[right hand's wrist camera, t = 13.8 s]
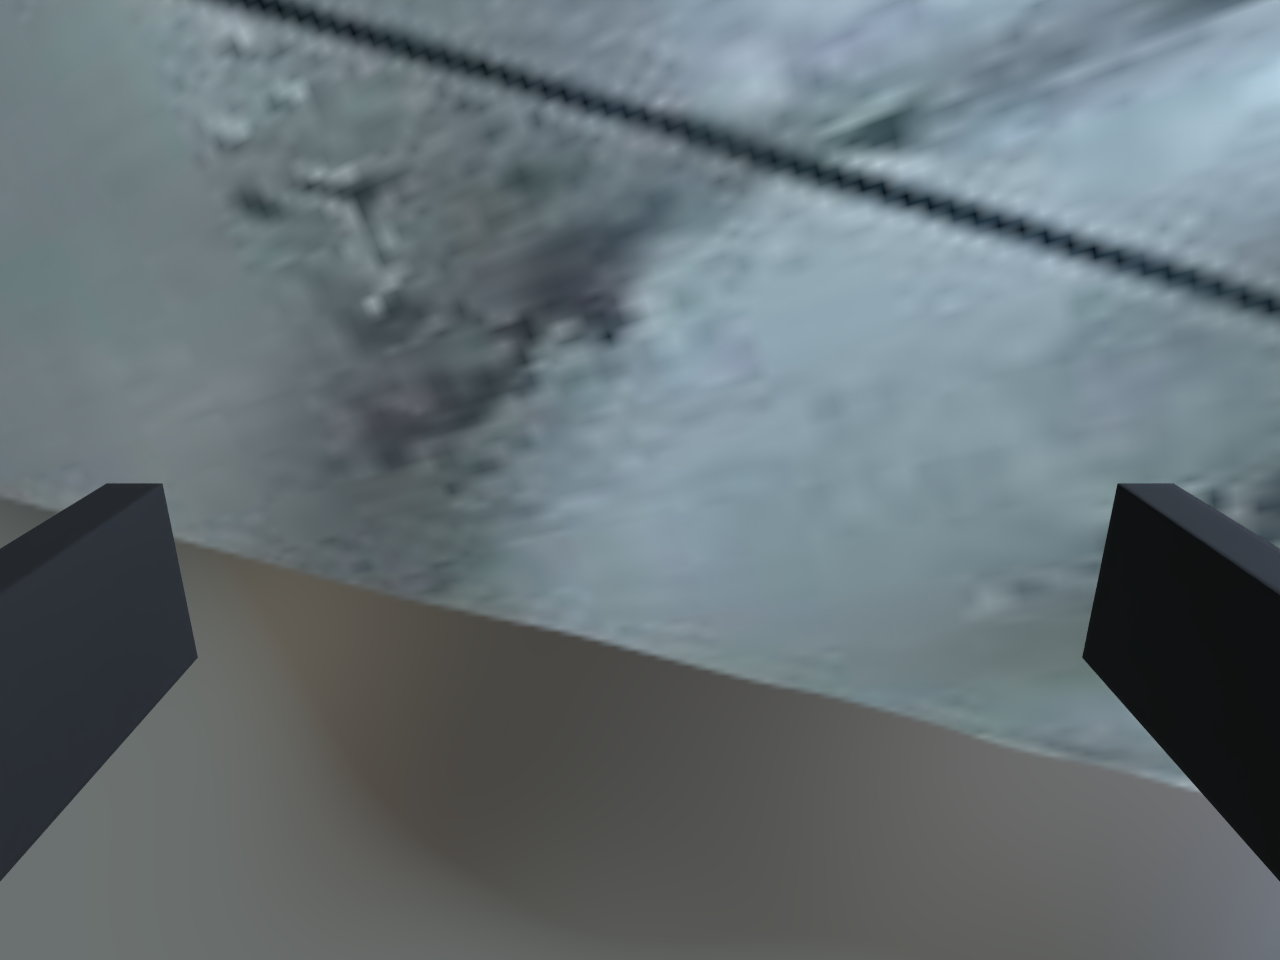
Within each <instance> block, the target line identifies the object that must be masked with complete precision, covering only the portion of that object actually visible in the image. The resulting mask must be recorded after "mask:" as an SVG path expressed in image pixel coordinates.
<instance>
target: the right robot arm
mask: <svg viewBox="0 0 1280 960" xmlns="http://www.w3.org/2000/svg"><path fill="white" fill-rule="evenodd" d="M197 658H198V657H197V652H196V647H195V642H194V637H193V632H192V627H191V622H190V617H189V613H188V607H187V602H186V598H185V593H184V588H183V583H182V578H181V573H180V568H179V563H178V558H177V553H176V548H175V543H174V538H173V533H172V528H171V523H170V519H169V514H168V509H167V504H166V499H165V494H164V489H163V484H105V485H104V486H102V487H100V488H99V489H97V490H95V491H94V492H92V493H90V494H89V495H87V496H86V497H84V498H82V499H81V500H79V501H77V502H76V503H74V504H73V505H71V506H69V507H68V508H66V509H64V510H63V511H61V512H60V513H58V514H56V515H55V516H53V517H51V518H50V519H48V520H46V521H45V522H43V523H42V524H40V525H38V526H37V527H35V528H33V529H32V530H30V531H29V532H27V533H25V534H24V535H22V536H20V537H19V538H17V539H16V540H14V541H12V542H11V543H9V544H7V545H6V546H4V547H2V548H1V549H0V881H1V880H2V879H3V877H4V876H5V875H6V874H7V873H8V872H9V871H10V870H11V869H12V867H13V866H14V865H15V864H16V863H17V862H18V861H19V859H20V858H21V857H22V856H23V855H24V854H25V853H26V852H27V850H28V849H29V848H30V847H31V846H32V845H33V844H34V842H35V841H36V840H37V839H38V838H39V837H40V836H41V835H42V833H43V832H44V831H45V830H46V829H47V828H48V827H49V825H50V824H51V823H52V822H53V821H54V820H55V819H56V818H57V816H58V815H59V814H60V813H61V812H62V811H63V810H64V808H65V807H66V806H67V805H68V804H69V803H70V802H71V801H72V799H73V798H74V797H75V796H76V795H77V794H78V793H79V791H80V790H81V789H82V788H83V787H84V786H85V785H86V783H87V782H88V781H89V780H90V779H91V778H92V777H93V776H94V774H95V773H96V772H97V771H98V770H99V769H100V768H101V767H102V765H103V764H104V763H105V762H106V761H107V760H108V759H109V757H110V756H111V755H112V754H113V753H114V752H115V751H116V749H117V748H118V747H119V746H120V745H121V744H122V743H123V742H124V740H125V739H126V738H127V737H128V736H129V735H130V734H131V733H132V731H133V730H134V729H135V728H136V727H137V726H138V725H139V723H140V722H141V721H142V720H143V719H144V718H145V717H146V716H147V714H148V713H149V712H150V711H151V710H152V709H153V708H154V706H155V705H156V704H157V703H158V702H159V701H160V700H161V699H162V697H163V696H164V695H165V694H166V693H167V692H168V691H169V689H170V688H171V687H172V686H173V685H174V684H175V683H176V682H177V680H178V679H179V678H180V677H181V676H182V675H183V674H184V672H185V671H186V670H187V669H188V668H189V667H190V666H191V665H192V663H193V662H194V661H195V660H196V659H197ZM1082 658H1083V659H1084V660H1085V661H1086V662H1087V663H1088V665H1089V666H1090V667H1091V668H1092V669H1093V670H1094V671H1095V672H1096V674H1097V675H1098V676H1099V677H1100V678H1101V679H1102V680H1103V682H1104V683H1105V684H1106V685H1107V686H1108V687H1109V688H1110V689H1111V691H1112V692H1113V693H1114V694H1115V695H1116V696H1117V697H1118V699H1119V700H1120V701H1121V702H1122V703H1123V704H1124V705H1125V706H1126V708H1127V709H1128V710H1129V711H1130V712H1131V713H1132V714H1133V716H1134V717H1135V718H1136V719H1137V720H1138V721H1139V722H1140V723H1141V725H1142V726H1143V727H1144V728H1145V729H1146V730H1147V731H1148V733H1149V734H1150V735H1151V736H1152V737H1153V738H1154V739H1155V740H1156V742H1157V743H1158V744H1159V745H1160V746H1161V747H1162V748H1163V750H1164V751H1165V752H1166V753H1167V754H1168V755H1169V756H1170V757H1171V759H1172V760H1173V761H1174V762H1175V763H1176V764H1177V765H1178V767H1179V768H1180V769H1181V770H1182V771H1183V772H1184V773H1185V774H1186V776H1187V777H1188V778H1189V779H1190V780H1191V781H1192V782H1193V784H1194V785H1195V786H1196V787H1197V788H1198V789H1199V790H1200V791H1201V793H1202V794H1203V795H1204V796H1205V797H1206V798H1207V799H1208V801H1209V802H1210V803H1211V804H1212V805H1213V806H1214V807H1215V808H1216V810H1217V811H1218V812H1219V813H1220V814H1221V815H1222V816H1223V818H1224V819H1225V820H1226V821H1227V822H1228V823H1229V824H1230V825H1231V827H1232V828H1233V829H1234V830H1235V831H1236V832H1237V833H1238V835H1239V836H1240V837H1241V838H1242V839H1243V840H1244V841H1245V842H1246V844H1247V845H1248V846H1249V847H1250V848H1251V849H1252V850H1253V851H1254V853H1255V854H1256V855H1257V856H1258V857H1259V858H1260V859H1261V861H1262V862H1263V863H1264V864H1265V865H1266V866H1267V867H1268V869H1269V870H1270V871H1271V872H1272V873H1273V874H1274V875H1275V876H1276V878H1277V879H1278V880H1279V881H1280V549H1279V548H1278V547H1276V546H1274V545H1273V544H1271V543H1269V542H1268V541H1266V540H1264V539H1263V538H1261V537H1260V536H1258V535H1256V534H1255V533H1253V532H1251V531H1250V530H1248V529H1247V528H1245V527H1243V526H1242V525H1240V524H1238V523H1237V522H1235V521H1234V520H1232V519H1230V518H1229V517H1227V516H1225V515H1224V514H1222V513H1220V512H1219V511H1217V510H1216V509H1214V508H1212V507H1211V506H1209V505H1207V504H1206V503H1204V502H1203V501H1201V500H1199V499H1198V498H1196V497H1194V496H1193V495H1191V494H1190V493H1188V492H1186V491H1185V490H1183V489H1181V488H1180V487H1178V486H1176V485H1175V484H1117V489H1116V494H1115V499H1114V504H1113V509H1112V514H1111V519H1110V523H1109V528H1108V533H1107V538H1106V543H1105V548H1104V553H1103V558H1102V563H1101V568H1100V573H1099V578H1098V583H1097V588H1096V593H1095V598H1094V602H1093V607H1092V612H1091V617H1090V622H1089V627H1088V632H1087V637H1086V642H1085V647H1084V652H1083V657H1082Z"/></svg>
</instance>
